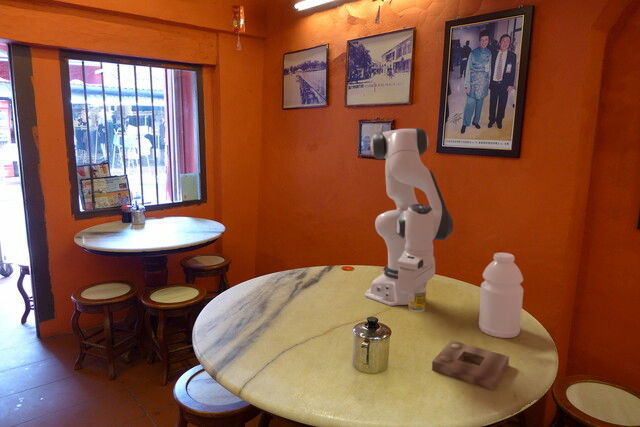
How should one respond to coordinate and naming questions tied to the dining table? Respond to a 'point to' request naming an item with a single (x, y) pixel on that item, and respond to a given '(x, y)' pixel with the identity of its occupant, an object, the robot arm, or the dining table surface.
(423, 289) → the supplement bottle
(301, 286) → the dining table surface
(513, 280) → the bottle
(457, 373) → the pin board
